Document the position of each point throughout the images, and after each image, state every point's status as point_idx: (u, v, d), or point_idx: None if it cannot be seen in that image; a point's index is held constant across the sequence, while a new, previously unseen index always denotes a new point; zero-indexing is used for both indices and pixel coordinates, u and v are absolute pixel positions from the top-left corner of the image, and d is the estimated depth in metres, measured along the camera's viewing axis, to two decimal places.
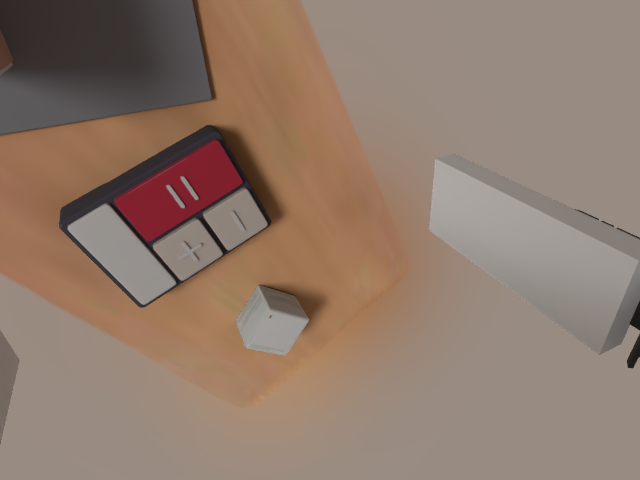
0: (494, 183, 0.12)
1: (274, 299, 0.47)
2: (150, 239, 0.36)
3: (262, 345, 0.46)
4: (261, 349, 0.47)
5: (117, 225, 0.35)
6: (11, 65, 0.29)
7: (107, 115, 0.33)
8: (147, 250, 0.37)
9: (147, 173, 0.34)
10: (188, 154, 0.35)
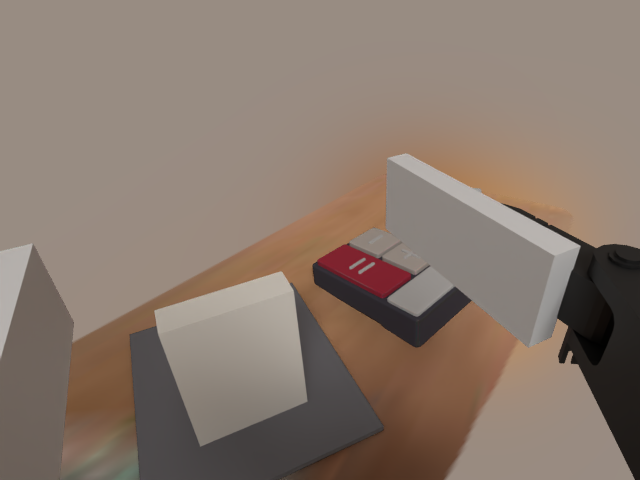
0: (437, 182, 0.12)
1: None
2: (408, 273, 0.44)
3: None
4: None
5: (403, 291, 0.42)
6: None
7: (320, 328, 0.42)
8: (419, 274, 0.44)
9: (354, 287, 0.44)
10: (333, 272, 0.46)
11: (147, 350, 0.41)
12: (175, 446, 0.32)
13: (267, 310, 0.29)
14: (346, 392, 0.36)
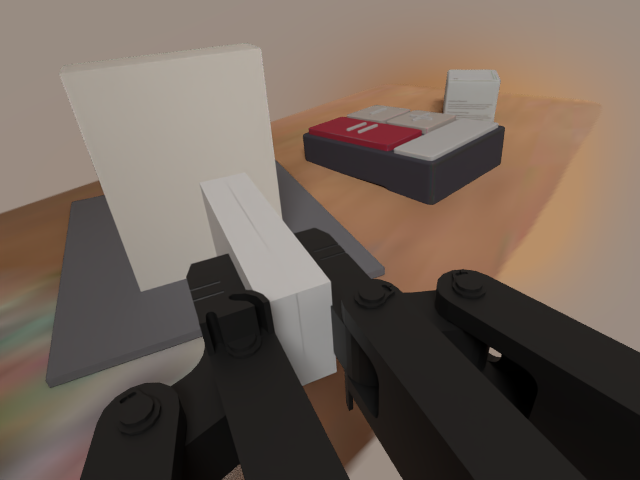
0: (249, 205, 0.12)
1: None
2: (418, 129, 0.36)
3: (491, 76, 0.46)
4: (496, 76, 0.46)
5: (414, 143, 0.34)
6: None
7: (305, 190, 0.34)
8: (432, 131, 0.36)
9: (353, 145, 0.36)
10: (327, 138, 0.38)
11: (90, 213, 0.33)
12: (108, 292, 0.24)
13: (224, 74, 0.21)
14: (336, 240, 0.28)
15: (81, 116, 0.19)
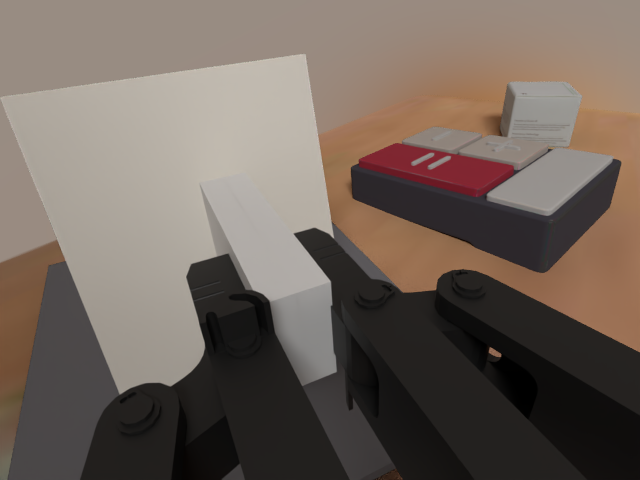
0: (249, 205, 0.12)
1: (508, 115, 0.40)
2: (509, 165, 0.28)
3: (567, 90, 0.38)
4: (574, 90, 0.38)
5: (511, 186, 0.25)
6: None
7: (359, 250, 0.26)
8: (528, 166, 0.28)
9: (425, 186, 0.27)
10: (385, 173, 0.30)
11: (72, 286, 0.25)
12: (90, 444, 0.16)
13: (255, 93, 0.14)
14: None
15: (36, 163, 0.12)
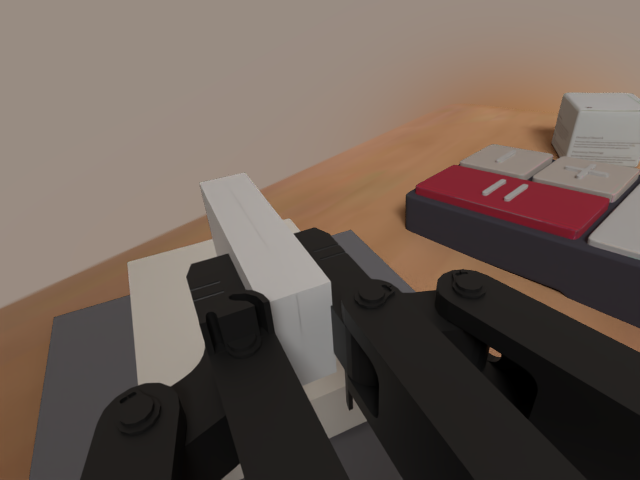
0: (249, 205, 0.12)
1: (567, 131, 0.35)
2: (603, 197, 0.23)
3: (638, 104, 0.34)
4: None
5: (614, 226, 0.21)
6: None
7: None
8: (625, 199, 0.23)
9: (504, 223, 0.23)
10: (450, 204, 0.26)
11: (82, 347, 0.20)
12: None
13: None
14: None
15: (134, 280, 0.20)
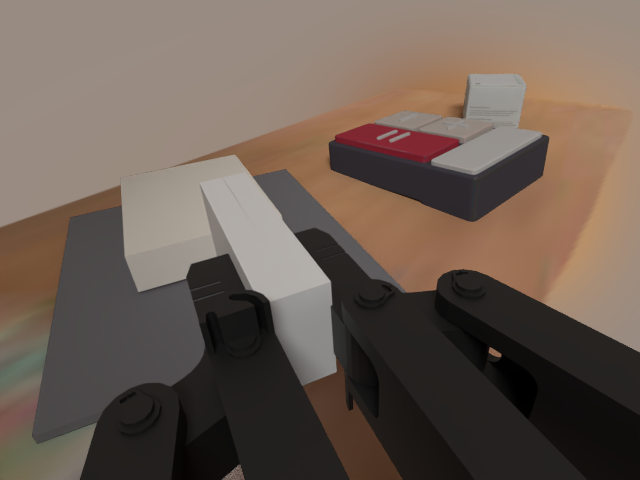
0: (249, 205, 0.12)
1: (465, 103, 0.46)
2: (456, 139, 0.33)
3: (516, 81, 0.44)
4: (521, 81, 0.44)
5: (452, 154, 0.31)
6: None
7: (321, 206, 0.32)
8: (471, 140, 0.33)
9: (385, 156, 0.33)
10: (356, 146, 0.36)
11: (90, 231, 0.31)
12: (106, 324, 0.22)
13: (213, 163, 0.33)
14: None
15: (124, 186, 0.31)
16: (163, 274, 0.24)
